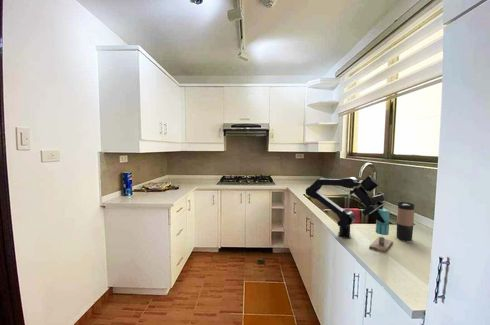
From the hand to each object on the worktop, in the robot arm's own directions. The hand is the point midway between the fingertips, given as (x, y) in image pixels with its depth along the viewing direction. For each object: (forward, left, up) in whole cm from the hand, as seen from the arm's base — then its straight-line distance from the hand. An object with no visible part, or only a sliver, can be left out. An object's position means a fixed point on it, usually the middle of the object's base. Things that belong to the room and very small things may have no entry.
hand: (385, 221), depth 119 cm
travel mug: (-16, +12, -14) cm, 24 cm away
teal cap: (-1, -1, -7) cm, 7 cm away
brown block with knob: (-1, -1, -13) cm, 13 cm away
